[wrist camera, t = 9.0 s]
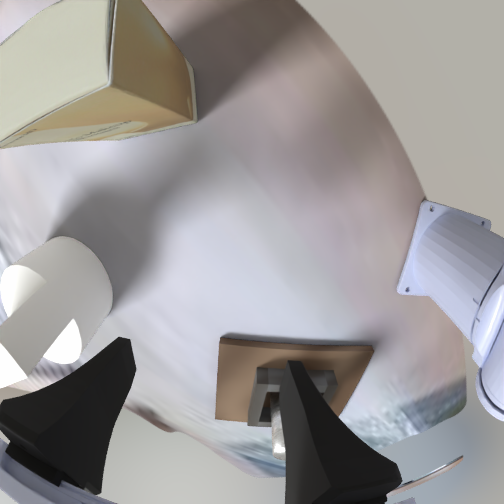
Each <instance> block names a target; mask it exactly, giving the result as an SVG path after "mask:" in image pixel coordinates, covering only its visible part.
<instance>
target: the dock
mask: <svg viewBox="0 0 504 504" xmlns="http://www.w3.org/2000/svg"><path fill="white" fill-rule="evenodd" d="M373 353H374V350H373V348H372V346H331V345H303V344H285V343H271V342H259V341H248V340H238V339H229V338H220V342H219V356H218V373H217V392H216V412H215V419H218V420H227V421H238V422H248V426H257V427H272V425H271V404H270V392H279V388H280V384H281V381H282V378H283V374H284V371H285V367H286V364H287V360H293V361H301V362H302V363H303V365H304V367H305V368H306V370H307V372H308V374H309V376H310V377H311V379H312V381H313V382H314V384H315V386H316V387H317V389H318V390H319V392H320V393H321V395H322V396H323V398H324V399H325V401H326V402H327V403H328V405H329V406H330V407H331V409H332V410H333V411H334V413H335V414H336V415H337V416H338V417H339V415H340V413H341V412H342V410H343V408H344V407H345V405H346V403H347V402H348V400H349V398H350V396H351V395H352V393H353V391H354V389H355V388H356V386H357V384H358V382H359V380H360V378H361V376H362V375H363V373H364V371H365V369H366V367H367V365H368V363H369V361H370V359H371V357H372V355H373Z"/></svg>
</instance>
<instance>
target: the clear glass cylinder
mask: <svg viewBox="0 0 504 504" xmlns="http://www.w3.org/2000/svg"><path fill="white" fill-rule="evenodd" d="M270 404H271V425H272V446H273V456H274V457H275V458H277V459H280V460H286V454H285V444H284V437H283V430H282V423H281V415H280V408H279V392H270Z"/></svg>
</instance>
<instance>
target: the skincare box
mask: <svg viewBox="0 0 504 504" xmlns="http://www.w3.org/2000/svg"><path fill="white" fill-rule="evenodd" d="M194 123H197V105H196V93H195V82H194V72H193V68H192V67H191V65H190V64H189V62H188V61H187V60H186V58H185V57H184V55H183V54H182V53H181V51H180V50H179V49H178V47H177V46H176V45H175V43H174V42H173V40H172V39H171V38H170V36H169V35H168V34H167V32H166V31H165V30H164V28H163V27H162V26H161V25H160V23H159V22H158V21H157V19H156V18H155V17H154V16H153V14H152V13H151V12H150V10H149V9H148V8H147V7H146V5H145V4H144V3H143V2H142V1H141V0H60V1H58V2H57V3H55V4H53V5H51V6H49V7H47V8H46V9H44V10H42V11H41V12H39V13H38V14H36V15H35V16H34V17H32V18H31V19H30V20H29V21H27V22H26V23H25V24H24V25H23V26H21V27H20V28H19V29H18V30H16V31H15V32H14V33H12V34H11V35H10V36H9V37H8V38H6V39H5V40H4V41H3V42H2V43H1V44H0V149H5V148H11V147H18V146H25V145H34V144H45V143H57V142H75V141H119V140H123V139H128V138H132V137H137V136H141V135H146V134H150V133H154V132H159V131H163V130H167V129H171V128H176V127H180V126H185V125H189V124H194Z"/></svg>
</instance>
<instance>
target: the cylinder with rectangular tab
mask: <svg viewBox="0 0 504 504" xmlns="http://www.w3.org/2000/svg"><path fill="white" fill-rule="evenodd" d="M0 290H1V297H2V301H3V305H4V308H5V311H6V313H7V315H8V317H9V318H8V319H6V320H5V321H4V322H3V323H2V324H1V325H0V388H2V387H5V386H8V385H10V384H13V383H15V382H18V381H20V380H23V379H25V378H28V376H29V375H30V373H31V372H32V371H33V369H34V368H35V366H36V365H37V364H38V362H39V361H40V360H41V358H42V357H45V358H47V359H49V360H51V361H54V362H56V363H62V364H68V363H73V362H74V361H76V360H77V359H78V358H79V357H80V355H81V354H82V352H83V351H84V349H85V348H86V346H87V345H88V343H89V342H90V340H91V339H92V337H93V336H94V334H95V333H96V331H97V330H98V329H99V327H100V326H101V324H102V323H103V322H104V320H105V319H106V317H107V316H108V314H109V312H110V310H111V309H112V303H113V292H112V285H111V282H110V279H109V276H108V274H107V272H106V270H105V268H104V266H103V264H102V263H101V261H100V260H99V259H98V258H97V256H96V255H95V254H94V253H93V251H92V250H90V249H89V248H88V247H87V246H85V245H84V244H83V243H82V242H80V241H78V240H76V239H74V238H71V237H65V236H60V237H55V238H52V239H51V240H49V241H47V242H46V243H44V244H42V245H41V246H39V247H38V248H36V249H35V250H33V251H31V252H30V253H28V254H27V255H25V256H24V257H22V258H21V259H19V260H18V261H16V262H15V263H14V264H12V265H11V266H9V267H8V268H7V269H6V270H5V271H4V273H3V275H2V277H1V285H0Z"/></svg>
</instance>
